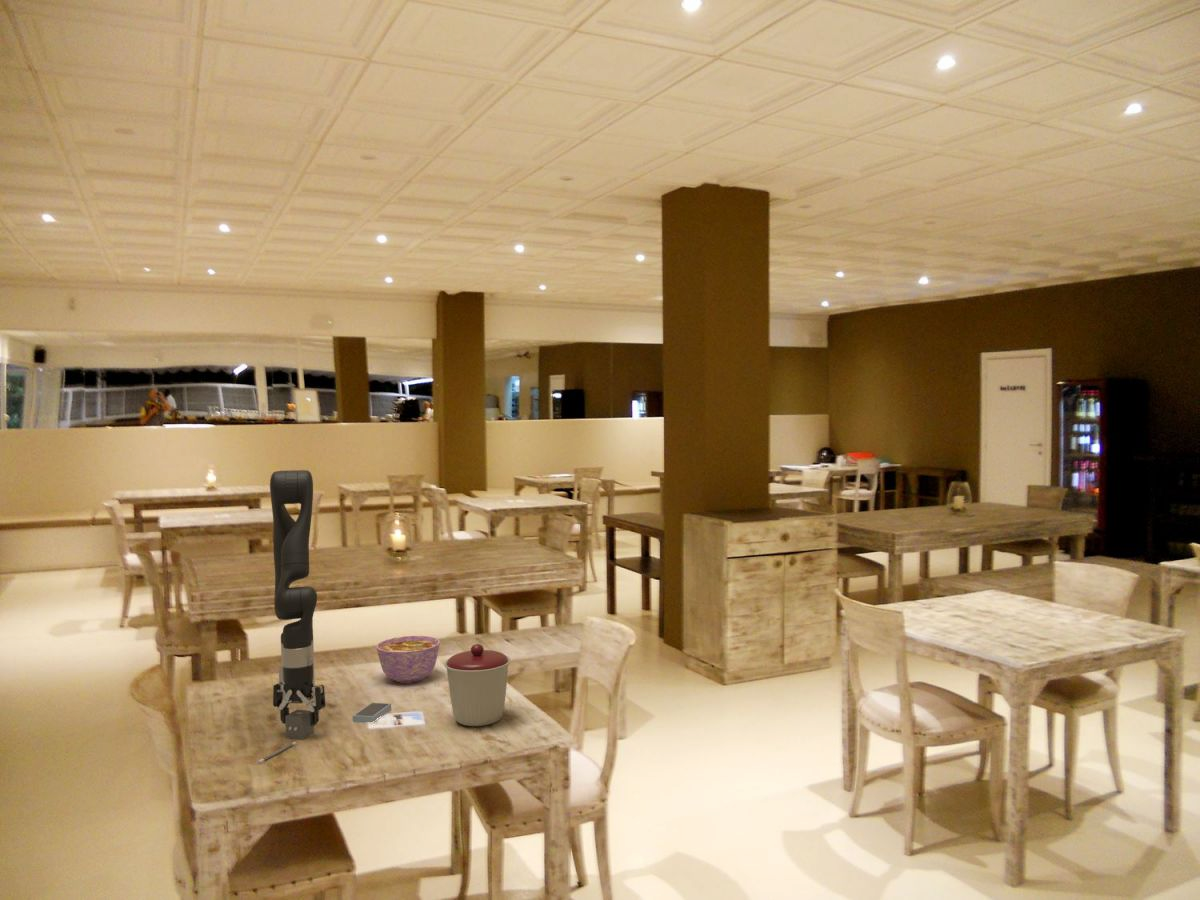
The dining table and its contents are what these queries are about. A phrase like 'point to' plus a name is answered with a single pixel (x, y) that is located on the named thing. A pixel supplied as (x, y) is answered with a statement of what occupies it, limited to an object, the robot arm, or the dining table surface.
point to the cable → (277, 752)
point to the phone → (371, 712)
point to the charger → (298, 725)
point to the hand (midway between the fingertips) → (299, 723)
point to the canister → (477, 685)
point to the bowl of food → (408, 657)
